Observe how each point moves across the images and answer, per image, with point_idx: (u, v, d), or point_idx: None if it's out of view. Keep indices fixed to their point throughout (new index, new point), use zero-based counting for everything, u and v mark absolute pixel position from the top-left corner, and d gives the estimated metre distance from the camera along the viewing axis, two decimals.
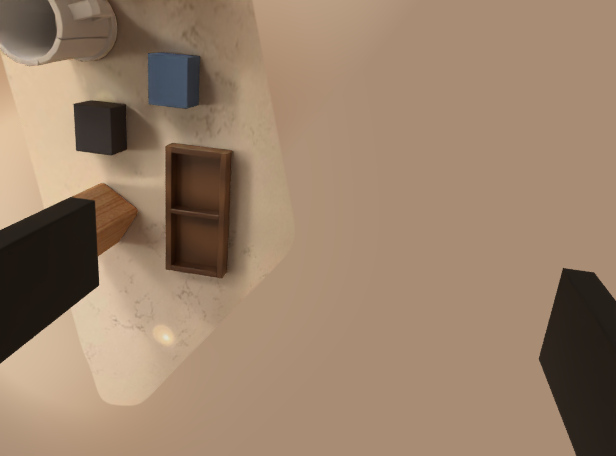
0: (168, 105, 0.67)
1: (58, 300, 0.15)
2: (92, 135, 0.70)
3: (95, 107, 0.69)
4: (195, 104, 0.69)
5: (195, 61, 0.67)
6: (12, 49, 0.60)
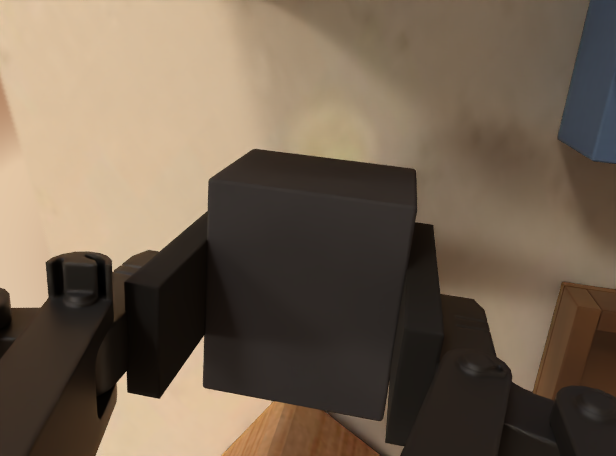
0: None
1: None
2: (294, 333, 0.14)
3: (328, 202, 0.13)
4: None
5: None
6: None
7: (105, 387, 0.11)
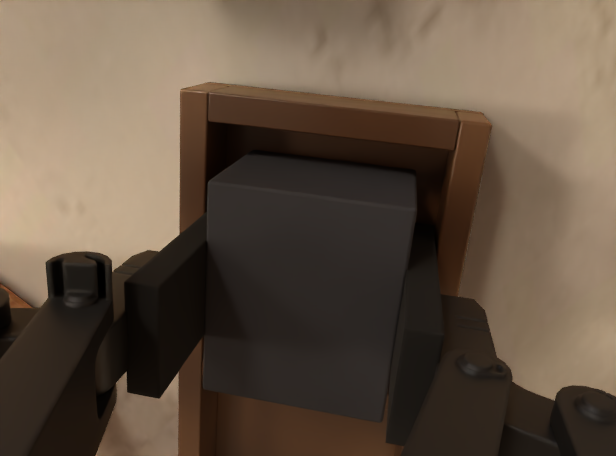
0: None
1: None
2: (294, 334, 0.14)
3: (328, 204, 0.13)
4: None
5: None
6: None
7: (105, 387, 0.11)
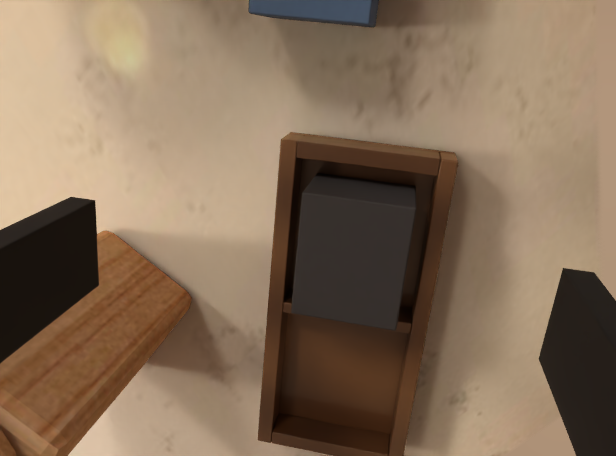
0: (310, 14, 0.22)
1: (58, 300, 0.15)
2: (346, 278, 0.25)
3: (368, 205, 0.24)
4: (374, 21, 0.24)
5: None
6: None
7: None
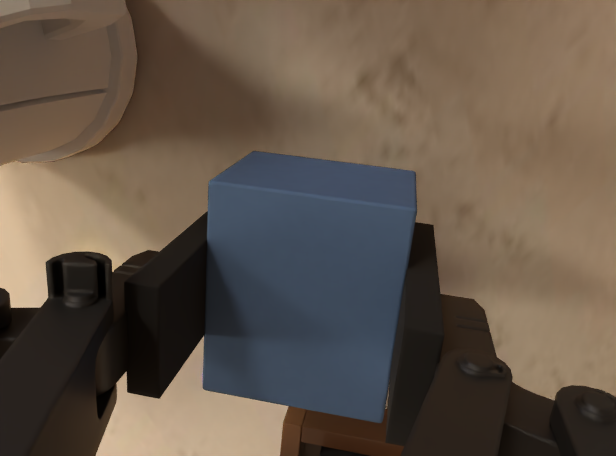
0: (294, 403, 0.15)
1: None
2: None
3: None
4: None
5: None
6: None
7: (105, 387, 0.11)
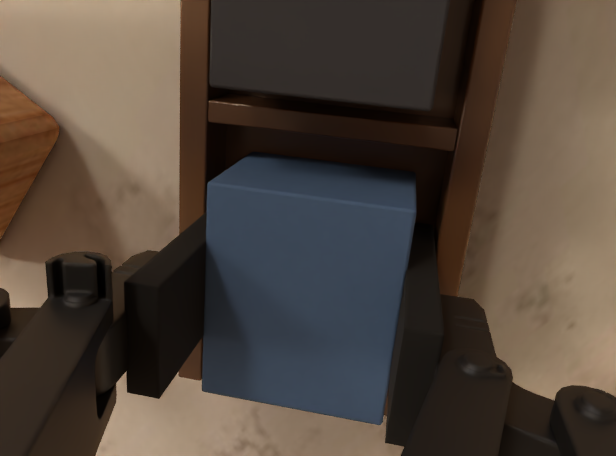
0: (293, 405, 0.15)
1: None
2: None
3: None
4: None
5: None
6: None
7: (104, 387, 0.11)
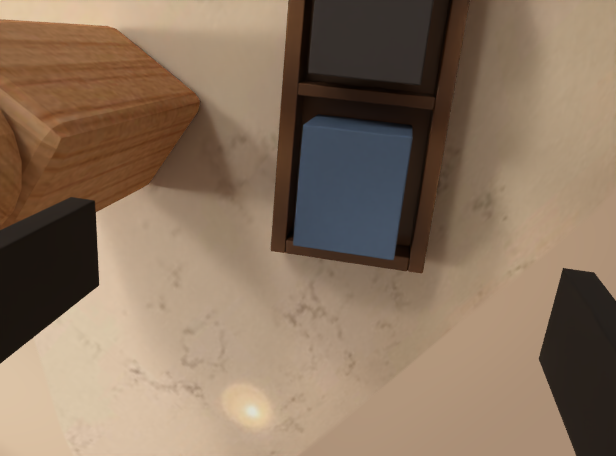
0: (345, 250, 0.27)
1: (58, 300, 0.15)
2: (368, 25, 0.23)
3: None
4: None
5: None
6: None
7: None
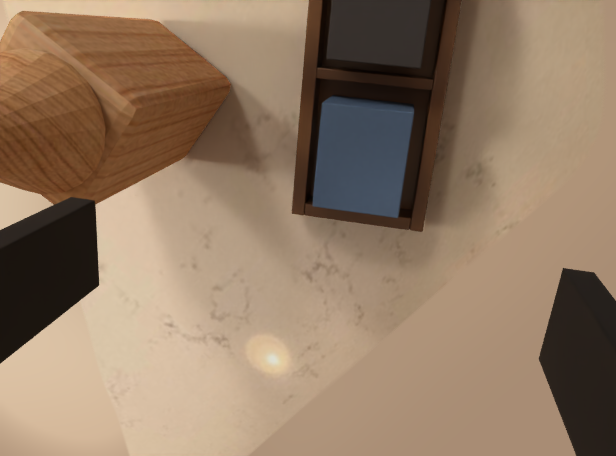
0: (356, 210, 0.32)
1: (58, 300, 0.15)
2: (377, 18, 0.28)
3: None
4: None
5: None
6: None
7: None
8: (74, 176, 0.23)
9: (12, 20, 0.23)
